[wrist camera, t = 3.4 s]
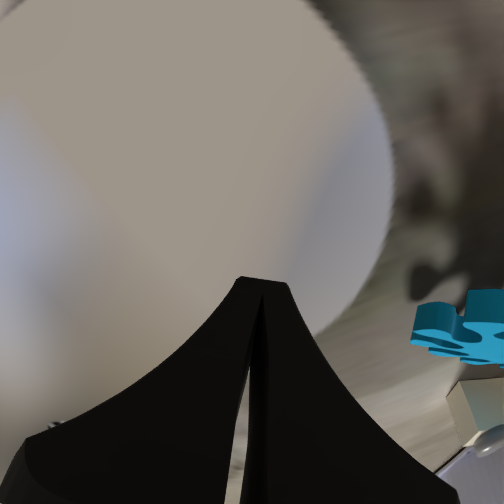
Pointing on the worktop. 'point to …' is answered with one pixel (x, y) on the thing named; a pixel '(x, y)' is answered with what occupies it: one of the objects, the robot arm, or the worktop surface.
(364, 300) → the worktop surface
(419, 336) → the gear
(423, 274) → the worktop surface
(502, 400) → the gear housing
